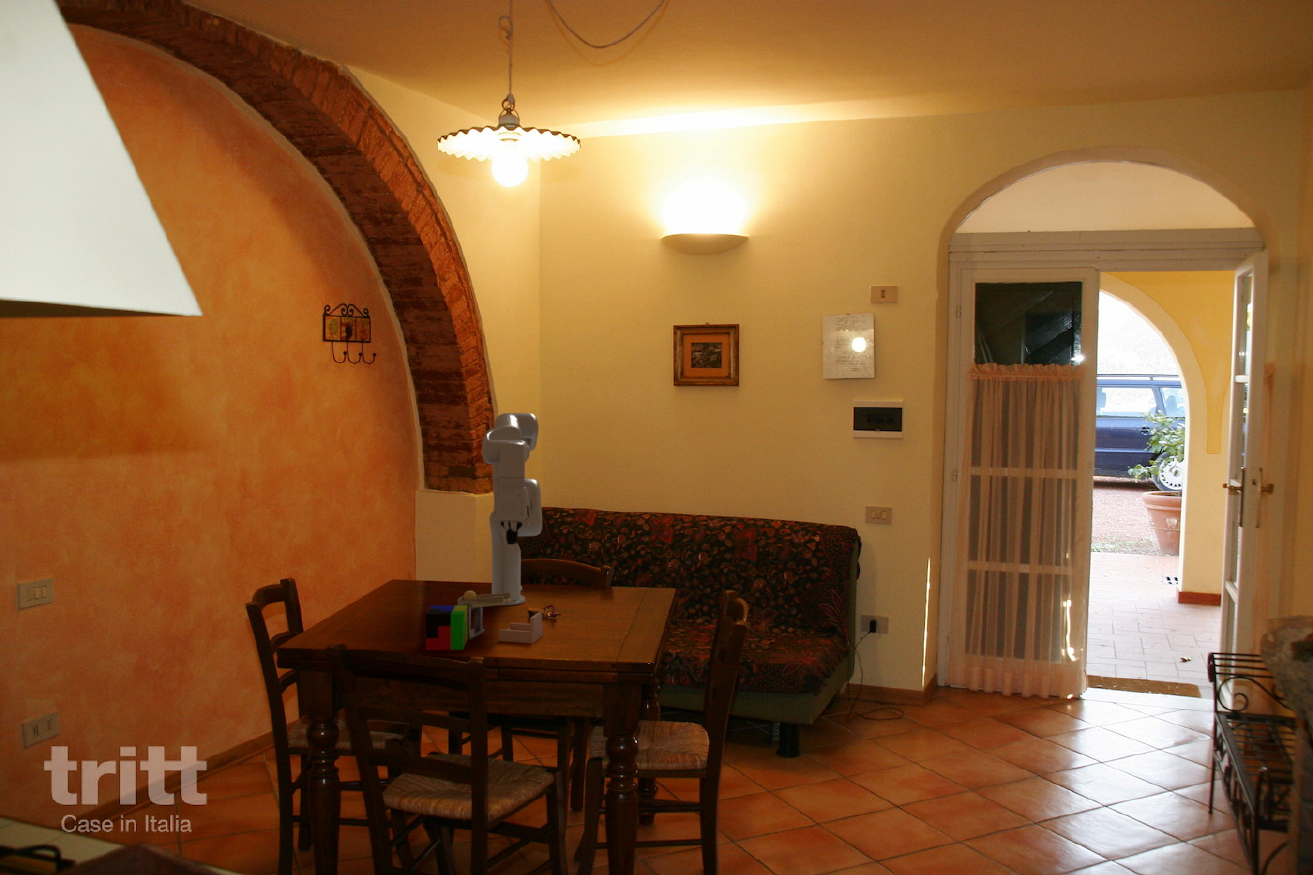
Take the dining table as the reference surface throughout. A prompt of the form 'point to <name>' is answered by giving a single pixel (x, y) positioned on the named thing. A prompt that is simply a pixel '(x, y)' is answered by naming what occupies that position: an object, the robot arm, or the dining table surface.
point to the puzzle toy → (446, 628)
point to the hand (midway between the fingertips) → (511, 543)
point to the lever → (486, 600)
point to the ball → (469, 595)
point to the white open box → (524, 631)
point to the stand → (477, 621)
